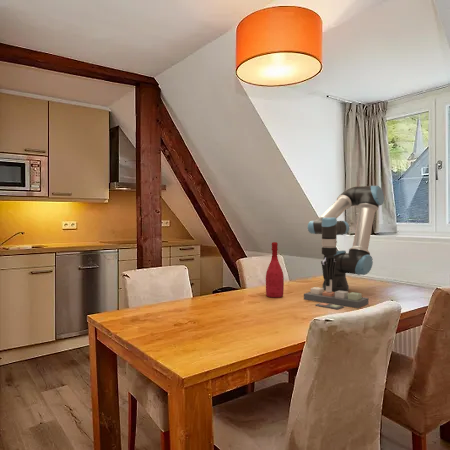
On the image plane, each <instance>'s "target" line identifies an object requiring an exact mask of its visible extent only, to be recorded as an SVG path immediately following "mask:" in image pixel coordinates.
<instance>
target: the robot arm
mask: <svg viewBox="0 0 450 450" xmlns="http://www.w3.org/2000/svg"><path fill="white" fill-rule="evenodd" d="M384 201H385V195H384V192H383V189H382V187H380V186H379V185H363V186H353V187H350V188H347V189H346V190H344V191H343V192H342V193H340V194H339V195H338V196H337V198H336V201H334V202H333V204H331V205H330V207H328V208H327V209H326V210H325V211H324V212H323V213H322V214H321V215H320V216H319V217H318V218H317V219H316V220H310V221H309V222H308V224H307V231H308V233H309V234H313V235H321V254H322V255H323V260H321V261H320V264H321V268H322V269H321V270H322V276H323V283H322V288H324V291H326V292H330V293H331V292H336V291H339V290H340V291H348V292H349V290H350V287H349V282H348V279H347V278H346V277H347V276H346V275H347V274H350V275H358V276H361V275H362V276H365V275H367V274H369V273H370V271H371V270H372V268H373V263H374V262H373V256H372V255H371V253H370V251H369V246H370V241H371V236H372V235H371V234H372V229H373V223H374V218H375V214H376V213H375V212H376V211H378V210H379V206H382V205H383V204H384ZM354 206H355V207H357V209H358V211H359V212H358V216H357V221H356V226H355V232H354V237H353V243H352V247H350V248H349V249H348V252H347V251H346V250H338V249H337V243H338V240H337V236H344V235H347V234H348V233H349V231H350V224H349V223H348V222H347V221H345V220H338V218H339V216H341V215H342V214H343V213H344V212H345V210H348V209H350V208H351V207H354Z"/></svg>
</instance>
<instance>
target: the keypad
mask: <svg viewBox="0 0 450 450" xmlns="http://www.w3.org/2000/svg"><path fill="white" fill-rule="evenodd" d="M303 300H305V301H310V302H311V301H313V302H318V303H327V304H333V305H339V306H344V307H348V308H352V309H353V308H354V309H361V308H363V307H365V306H367V305H369V297H364V296H362V299H361V300H358V301H357V300H350V299H348V297H347V298H345V299H344V298H337V297H335V296H332V297H331V296H324V295H322V294H320V295H318V294H311V291H308V292H305V293H303Z"/></svg>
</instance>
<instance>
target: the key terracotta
mask: <svg viewBox="0 0 450 450" xmlns="http://www.w3.org/2000/svg"><path fill="white" fill-rule="evenodd" d="M335 292H336V291H332V292H331V293H330V292H326V290H324V292H322V295H324V296H331V297H332V296H335Z"/></svg>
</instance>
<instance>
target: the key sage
mask: <svg viewBox="0 0 450 450" xmlns="http://www.w3.org/2000/svg"><path fill="white" fill-rule="evenodd" d="M362 297H363V293H362V292H361V293H360V292H355V291H354V292H353V291H352V292H348V299H350V300H357V301H358V300H361V299H362Z"/></svg>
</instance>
